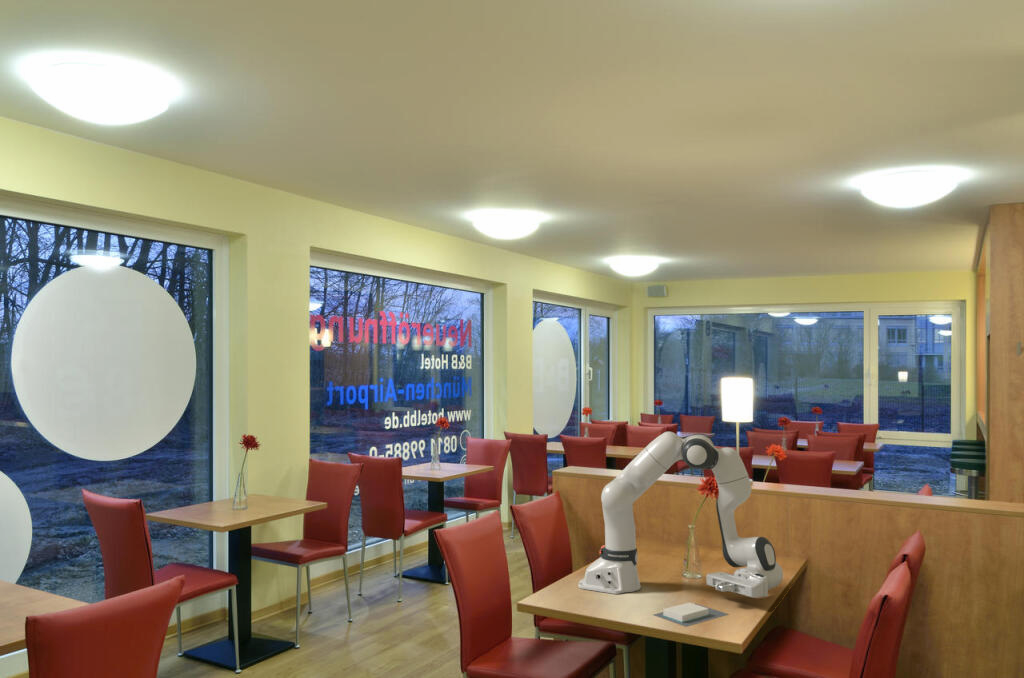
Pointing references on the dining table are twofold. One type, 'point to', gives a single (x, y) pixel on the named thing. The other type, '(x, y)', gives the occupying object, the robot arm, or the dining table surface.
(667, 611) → the teal book
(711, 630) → the dining table surface
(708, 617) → the mat
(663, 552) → the dining table surface
